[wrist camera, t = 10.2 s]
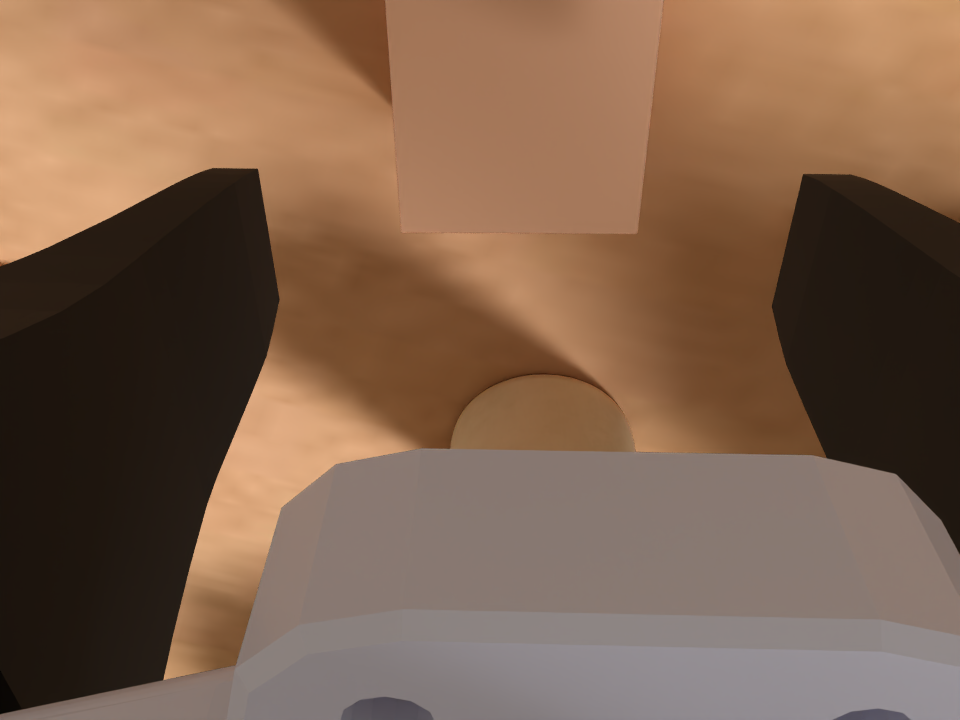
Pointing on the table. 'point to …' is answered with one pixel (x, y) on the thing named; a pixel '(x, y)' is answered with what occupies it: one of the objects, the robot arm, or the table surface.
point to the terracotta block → (522, 113)
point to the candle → (543, 417)
